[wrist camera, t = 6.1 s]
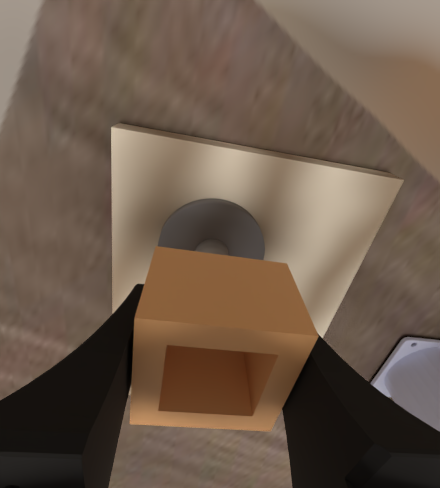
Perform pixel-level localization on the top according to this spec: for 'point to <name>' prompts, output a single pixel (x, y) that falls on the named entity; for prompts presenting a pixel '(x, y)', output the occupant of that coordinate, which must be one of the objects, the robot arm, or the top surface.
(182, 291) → the collar
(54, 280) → the top surface
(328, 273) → the post board
